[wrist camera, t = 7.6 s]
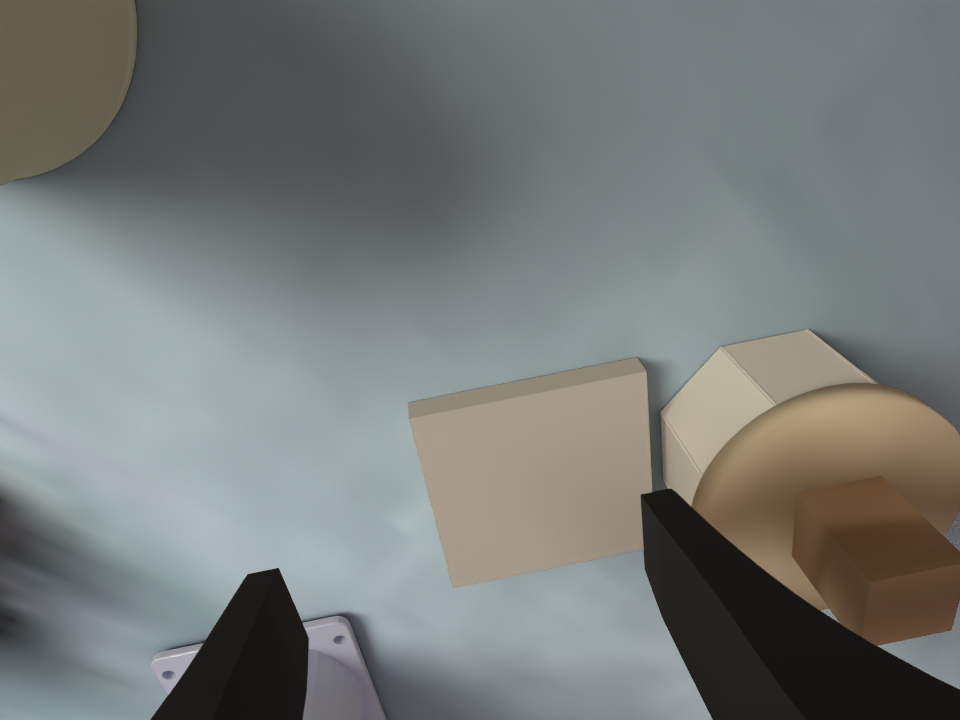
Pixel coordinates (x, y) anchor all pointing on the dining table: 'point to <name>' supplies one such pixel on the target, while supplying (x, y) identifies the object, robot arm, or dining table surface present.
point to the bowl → (741, 397)
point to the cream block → (537, 470)
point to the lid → (847, 506)
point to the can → (60, 78)
